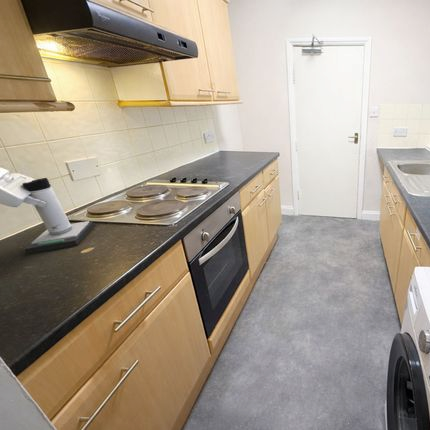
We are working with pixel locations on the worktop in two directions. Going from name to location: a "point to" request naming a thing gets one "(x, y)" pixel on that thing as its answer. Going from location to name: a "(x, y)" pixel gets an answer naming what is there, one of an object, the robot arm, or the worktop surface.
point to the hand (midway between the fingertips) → (48, 201)
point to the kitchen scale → (60, 238)
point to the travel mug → (49, 206)
